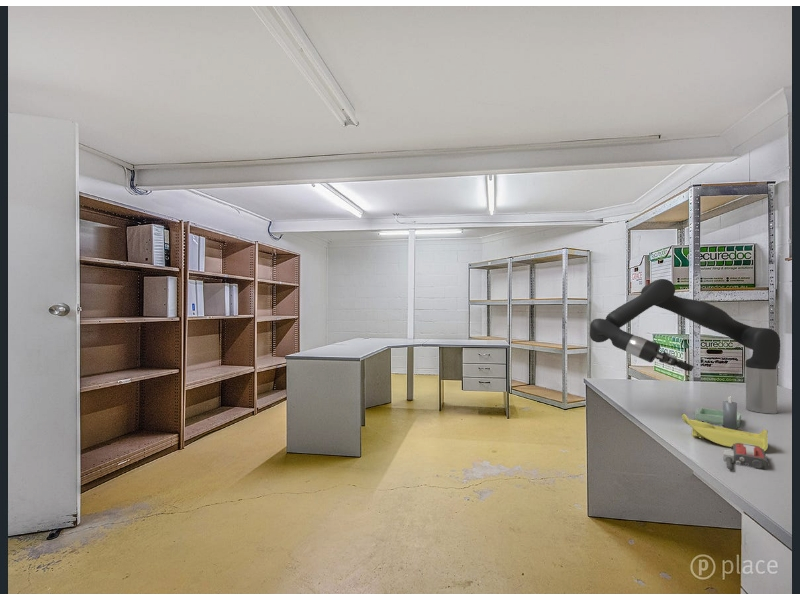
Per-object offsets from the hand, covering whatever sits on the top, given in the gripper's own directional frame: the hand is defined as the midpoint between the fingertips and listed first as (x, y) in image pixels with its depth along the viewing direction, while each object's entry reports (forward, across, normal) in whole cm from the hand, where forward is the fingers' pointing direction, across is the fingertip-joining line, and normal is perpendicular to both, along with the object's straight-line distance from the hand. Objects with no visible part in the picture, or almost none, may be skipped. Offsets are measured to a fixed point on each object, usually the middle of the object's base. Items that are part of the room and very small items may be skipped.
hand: (691, 368), depth 139 cm
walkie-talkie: (+21, -32, +17) cm, 42 cm away
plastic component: (+16, -14, +17) cm, 27 cm away
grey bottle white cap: (+17, +4, +14) cm, 22 cm away
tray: (+13, +14, +14) cm, 24 cm away
